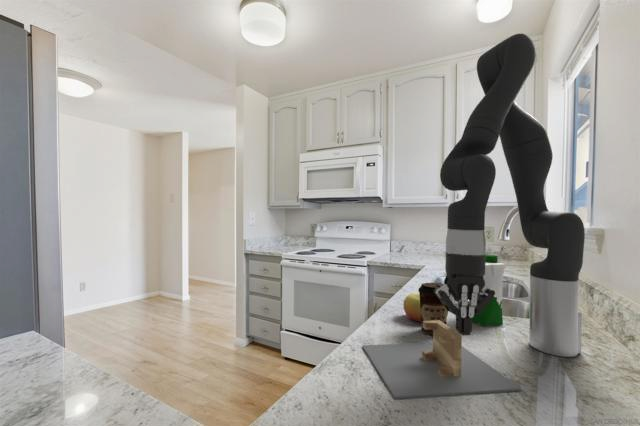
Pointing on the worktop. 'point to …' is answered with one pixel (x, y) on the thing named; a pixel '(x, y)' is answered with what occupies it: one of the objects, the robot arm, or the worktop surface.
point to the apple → (413, 307)
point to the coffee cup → (431, 305)
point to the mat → (432, 372)
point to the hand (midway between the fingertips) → (463, 333)
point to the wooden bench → (444, 348)
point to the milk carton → (494, 282)
